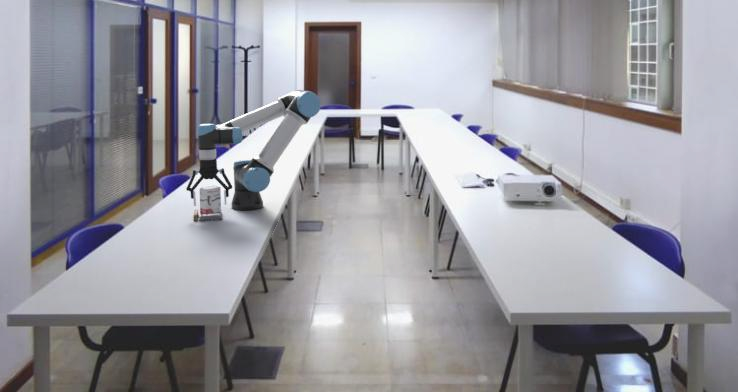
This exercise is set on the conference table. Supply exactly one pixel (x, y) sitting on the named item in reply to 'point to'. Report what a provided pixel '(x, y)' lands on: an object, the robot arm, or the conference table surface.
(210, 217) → the frame
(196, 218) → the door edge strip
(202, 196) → the ink box
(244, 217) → the conference table surface
